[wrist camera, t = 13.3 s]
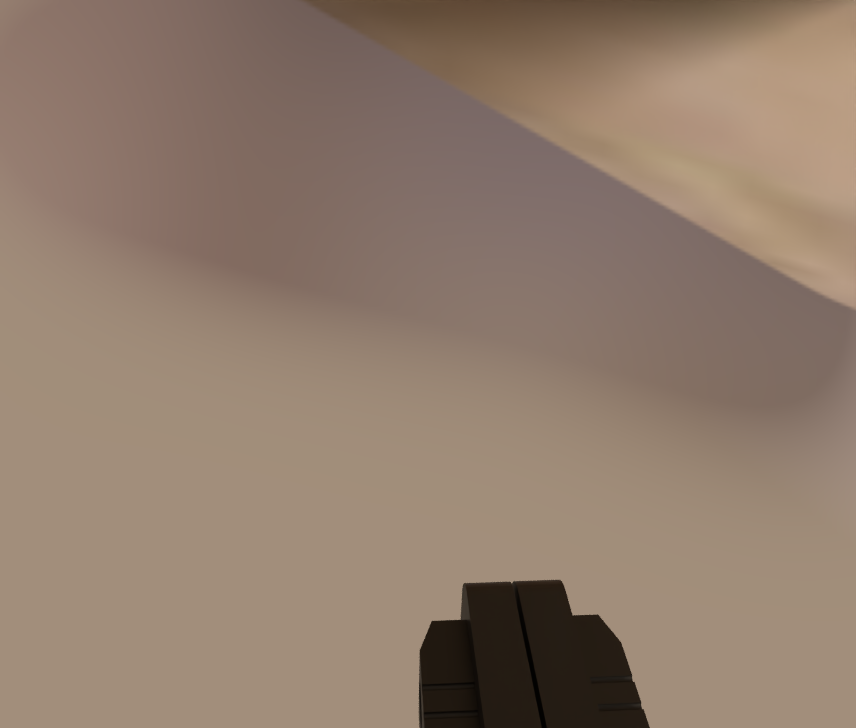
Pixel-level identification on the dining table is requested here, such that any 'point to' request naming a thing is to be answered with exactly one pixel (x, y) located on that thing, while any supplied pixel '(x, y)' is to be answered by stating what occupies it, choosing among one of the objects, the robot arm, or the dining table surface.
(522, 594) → the robot arm
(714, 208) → the dining table surface
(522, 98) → the dining table surface
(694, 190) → the dining table surface
